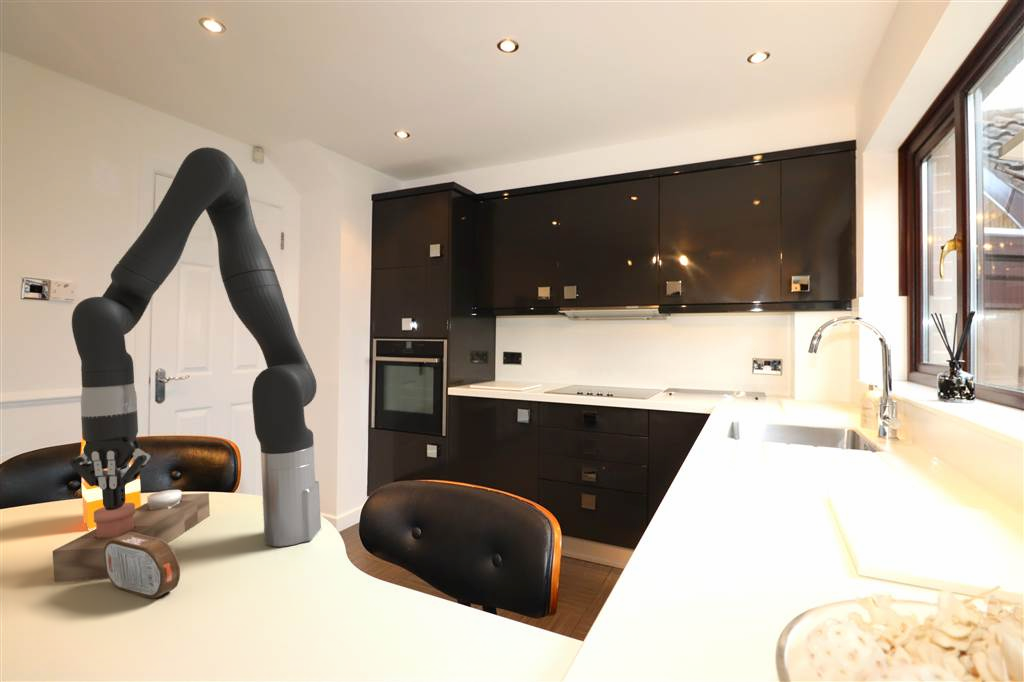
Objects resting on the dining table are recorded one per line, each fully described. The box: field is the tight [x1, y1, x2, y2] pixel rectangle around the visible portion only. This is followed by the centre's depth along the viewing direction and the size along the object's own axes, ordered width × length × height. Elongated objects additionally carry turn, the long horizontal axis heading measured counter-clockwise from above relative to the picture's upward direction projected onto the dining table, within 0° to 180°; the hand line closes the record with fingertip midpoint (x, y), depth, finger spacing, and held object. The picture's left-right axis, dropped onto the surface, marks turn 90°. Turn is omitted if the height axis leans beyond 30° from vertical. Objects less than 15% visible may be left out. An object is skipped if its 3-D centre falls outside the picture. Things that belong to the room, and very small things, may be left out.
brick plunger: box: [93, 503, 135, 538], centre depth 83 cm, size 6×6×6 cm
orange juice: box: [80, 438, 142, 529], centre depth 102 cm, size 8×9×20 cm
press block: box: [52, 492, 211, 582], centre depth 90 cm, size 10×26×5 cm, turn 4°
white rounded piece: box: [146, 489, 182, 510], centre depth 96 cm, size 6×6×6 cm
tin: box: [104, 532, 181, 599], centre depth 72 cm, size 15×3×8 cm, turn 67°
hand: (114, 508), depth 83 cm, fingers closed
